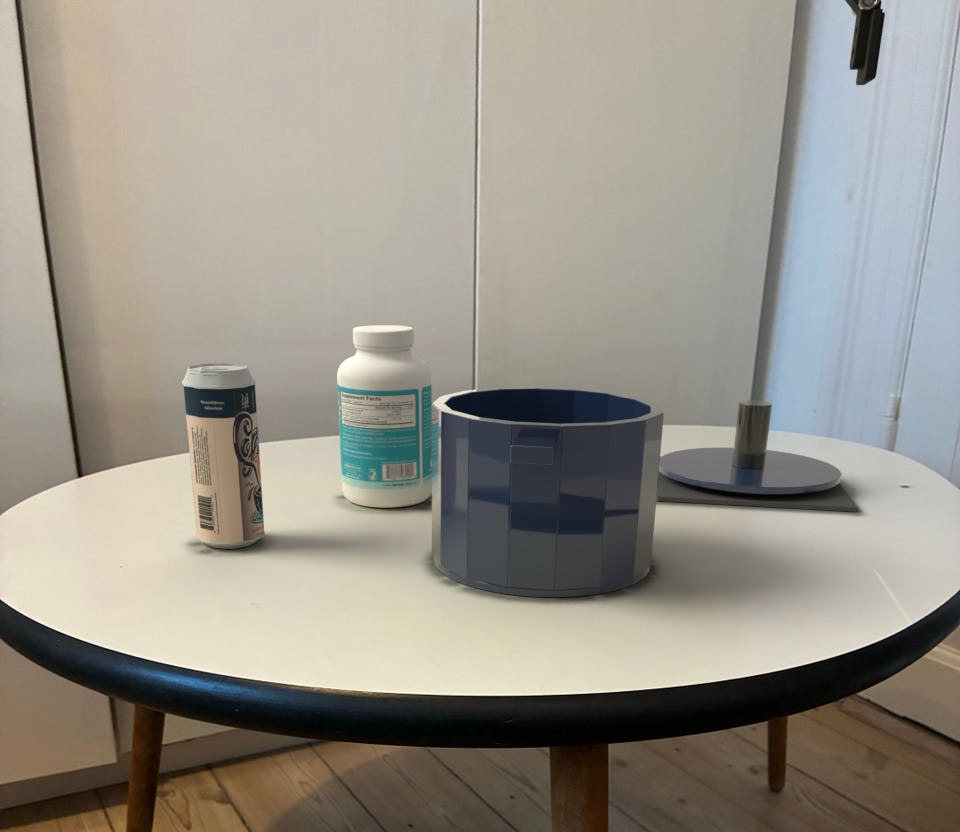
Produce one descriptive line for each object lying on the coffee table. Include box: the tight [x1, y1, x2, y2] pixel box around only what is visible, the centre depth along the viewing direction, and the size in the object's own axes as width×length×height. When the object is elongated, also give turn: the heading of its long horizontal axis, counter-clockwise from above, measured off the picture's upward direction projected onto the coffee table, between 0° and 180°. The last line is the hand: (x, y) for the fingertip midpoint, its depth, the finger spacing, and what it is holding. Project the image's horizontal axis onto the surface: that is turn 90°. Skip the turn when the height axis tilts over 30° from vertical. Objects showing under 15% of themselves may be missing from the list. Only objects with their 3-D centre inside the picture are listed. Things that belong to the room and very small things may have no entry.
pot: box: [431, 386, 665, 598], centre depth 67 cm, size 15×20×10 cm
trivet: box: [656, 455, 858, 513], centre depth 91 cm, size 16×16×1 cm
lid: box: [659, 399, 842, 495], centre depth 90 cm, size 16×16×7 cm
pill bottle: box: [336, 324, 433, 509], centre depth 81 cm, size 8×7×14 cm
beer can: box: [181, 362, 266, 550], centre depth 70 cm, size 5×5×12 cm
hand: (940, 82), depth 68 cm, fingers open, 9 cm apart
